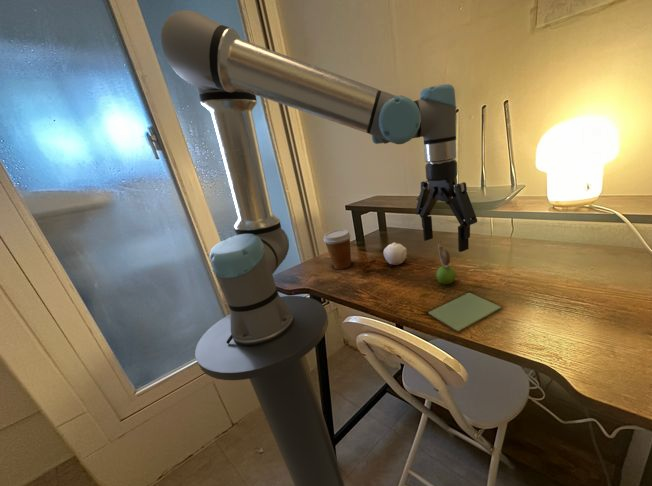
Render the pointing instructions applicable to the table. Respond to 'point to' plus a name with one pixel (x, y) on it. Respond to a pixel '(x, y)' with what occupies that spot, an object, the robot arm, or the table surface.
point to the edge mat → (464, 311)
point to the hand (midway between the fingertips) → (444, 244)
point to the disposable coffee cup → (339, 248)
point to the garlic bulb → (395, 253)
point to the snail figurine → (445, 267)
